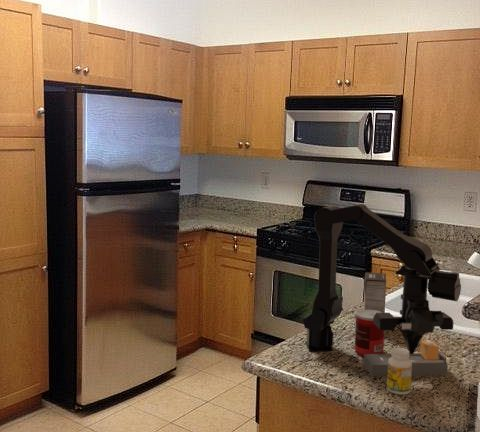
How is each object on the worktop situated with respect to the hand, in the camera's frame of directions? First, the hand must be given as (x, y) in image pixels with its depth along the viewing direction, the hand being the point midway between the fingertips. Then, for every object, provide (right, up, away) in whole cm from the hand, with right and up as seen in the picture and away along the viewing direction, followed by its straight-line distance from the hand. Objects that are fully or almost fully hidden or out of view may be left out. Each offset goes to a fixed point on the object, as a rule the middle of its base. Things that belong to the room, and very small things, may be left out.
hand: (410, 353), depth 143 cm
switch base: (-2, -4, 0) cm, 5 cm away
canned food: (-8, -3, +12) cm, 15 cm away
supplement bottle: (-6, -6, -11) cm, 14 cm away
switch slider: (+5, -1, 0) cm, 5 cm away
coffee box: (-2, 0, +34) cm, 34 cm away
